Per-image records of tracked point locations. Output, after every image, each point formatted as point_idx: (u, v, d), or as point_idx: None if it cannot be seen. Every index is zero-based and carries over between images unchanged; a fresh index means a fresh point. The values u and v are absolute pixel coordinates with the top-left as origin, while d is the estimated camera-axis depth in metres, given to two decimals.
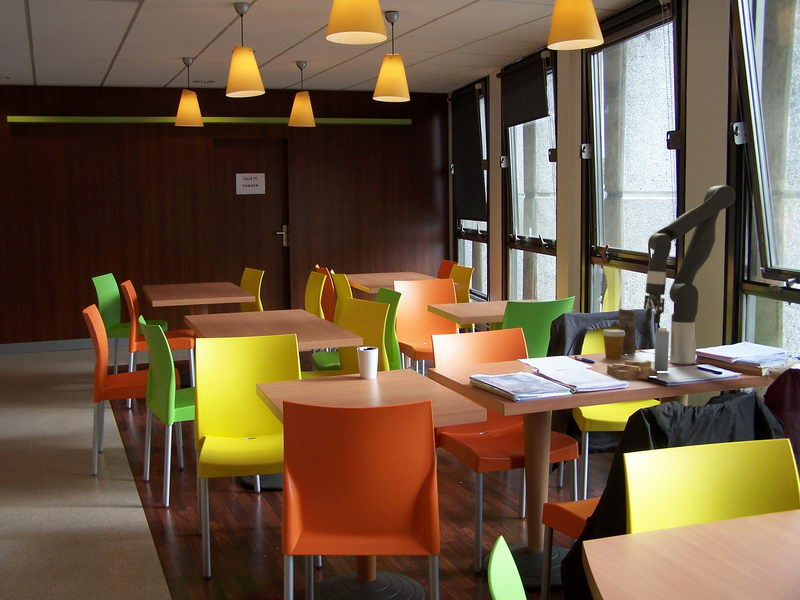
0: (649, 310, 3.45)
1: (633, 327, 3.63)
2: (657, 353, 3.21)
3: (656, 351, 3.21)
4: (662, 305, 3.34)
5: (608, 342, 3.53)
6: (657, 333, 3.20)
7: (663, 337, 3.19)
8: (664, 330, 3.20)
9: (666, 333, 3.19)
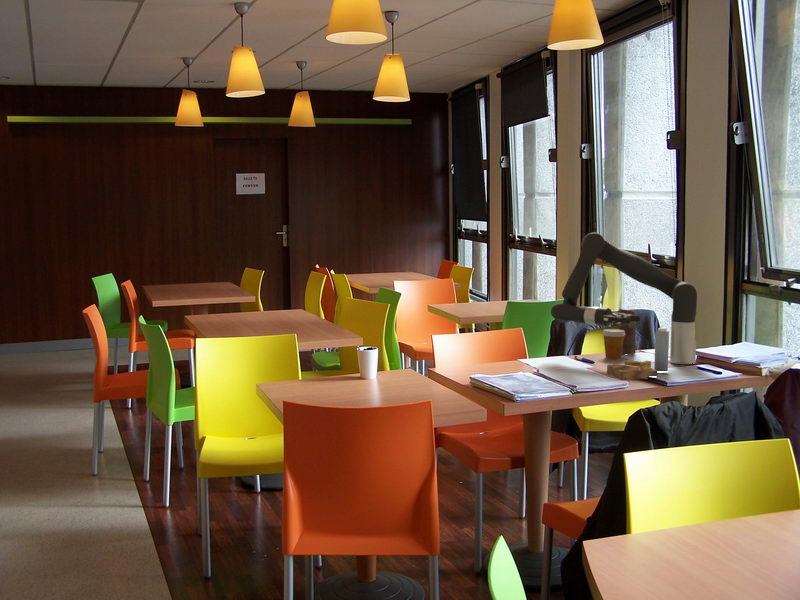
0: (629, 317, 3.34)
1: (633, 327, 3.63)
2: (657, 353, 3.21)
3: (656, 351, 3.21)
4: (609, 318, 3.28)
5: (608, 342, 3.53)
6: (657, 333, 3.20)
7: (663, 337, 3.19)
8: (664, 330, 3.20)
9: (666, 333, 3.19)
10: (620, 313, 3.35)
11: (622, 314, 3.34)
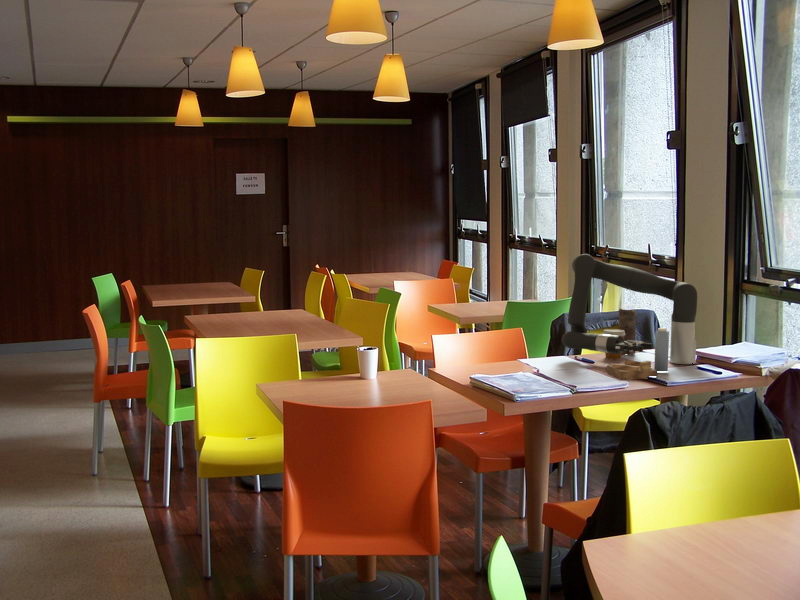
0: (641, 345, 3.32)
1: (633, 327, 3.63)
2: (657, 353, 3.21)
3: (656, 351, 3.21)
4: (621, 346, 3.26)
5: None
6: (657, 333, 3.20)
7: (663, 337, 3.19)
8: (664, 330, 3.20)
9: (666, 333, 3.19)
10: (632, 341, 3.33)
11: (634, 342, 3.32)
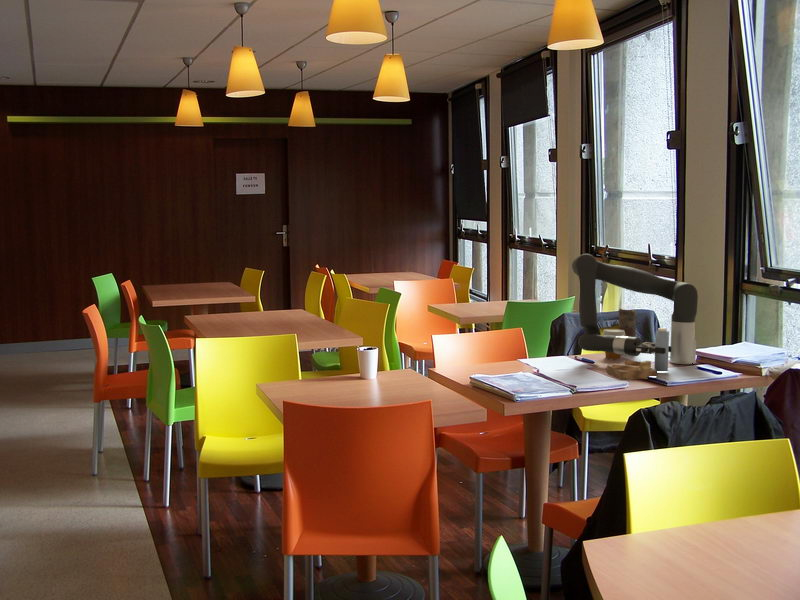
0: None
1: (633, 327, 3.63)
2: (657, 353, 3.21)
3: None
4: (643, 348, 3.20)
5: None
6: (657, 333, 3.20)
7: (663, 337, 3.19)
8: (664, 330, 3.20)
9: (666, 333, 3.19)
10: (650, 343, 3.27)
11: (652, 344, 3.26)
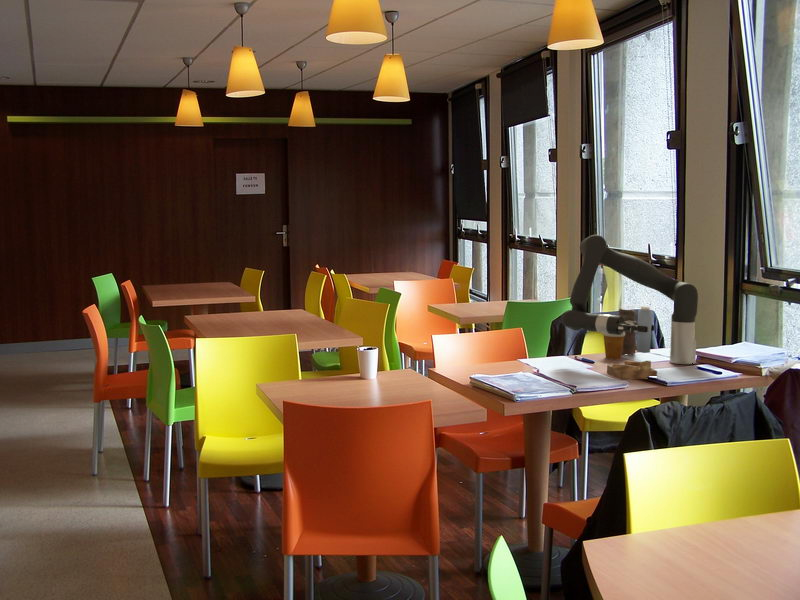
0: None
1: None
2: None
3: None
4: (625, 327, 3.16)
5: (608, 342, 3.53)
6: (640, 311, 3.16)
7: (645, 315, 3.15)
8: (647, 308, 3.15)
9: (649, 311, 3.15)
10: None
11: (635, 322, 3.22)
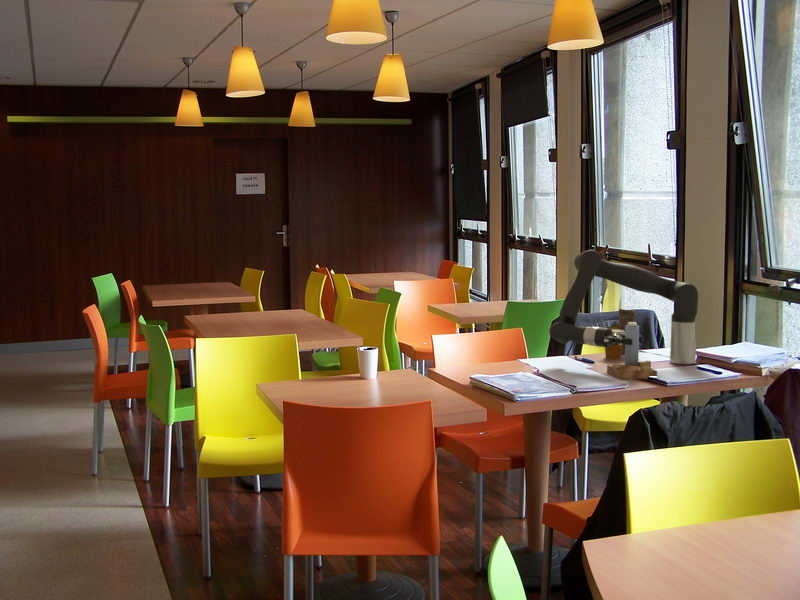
0: None
1: None
2: (627, 348, 3.14)
3: (626, 346, 3.15)
4: (610, 339, 3.13)
5: None
6: (627, 327, 3.14)
7: (632, 331, 3.12)
8: (634, 324, 3.13)
9: (636, 327, 3.13)
10: None
11: (623, 334, 3.20)
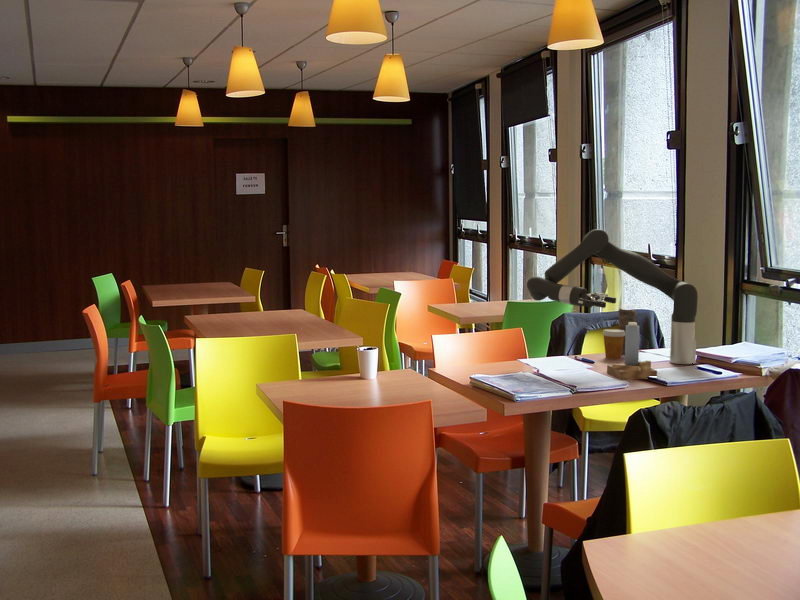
0: (605, 298, 3.27)
1: None
2: (627, 348, 3.14)
3: (626, 346, 3.14)
4: (584, 301, 3.20)
5: (608, 342, 3.53)
6: (627, 327, 3.14)
7: (633, 331, 3.12)
8: (634, 324, 3.13)
9: (636, 327, 3.12)
10: (596, 294, 3.27)
11: (598, 295, 3.26)
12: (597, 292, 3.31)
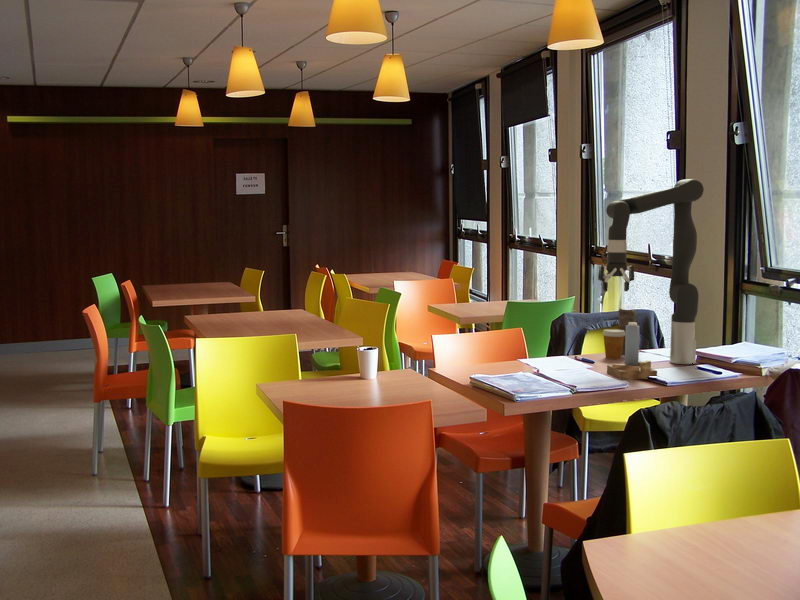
0: (626, 280, 3.36)
1: None
2: (627, 348, 3.14)
3: (626, 346, 3.14)
4: (600, 272, 3.34)
5: (608, 342, 3.53)
6: (627, 327, 3.14)
7: (633, 331, 3.12)
8: (634, 324, 3.13)
9: (636, 327, 3.12)
10: (624, 272, 3.34)
11: (623, 275, 3.35)
12: None
